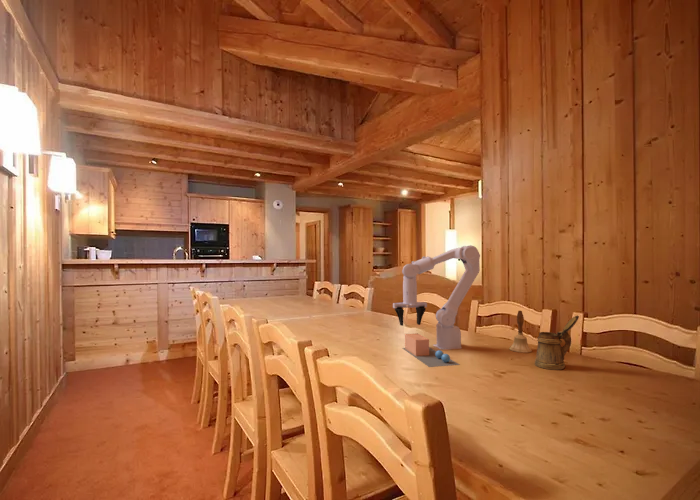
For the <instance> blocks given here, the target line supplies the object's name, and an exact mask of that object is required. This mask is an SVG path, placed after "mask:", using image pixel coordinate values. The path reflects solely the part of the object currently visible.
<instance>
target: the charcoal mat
mask: <svg viewBox="0 0 700 500" xmlns="http://www.w3.org/2000/svg"><path fill="white" fill-rule="evenodd" d="M402 350H404V351H406V353H408V354H410V355H411V356H413V357H414V358H415V359H416V360H419V361H420V362H421V363H422V364H424V365H425V366H426V367H428V368H435V367H437V368H438V367H448V366H450V367H451V366H460V365H461V364H460V363H458V362H456V361H454V360H453V359H451V358H450V361H449V362H447V363H446V362H443V361H442V359H438V358H437V357H436V355H435V353H436V351H437V350H435V349H434V348H432V347H430V346H429V355H426V356H415V355H413V354H412V353H410V352H409V351H408V350H406V349H405V347H403V348H402Z"/></svg>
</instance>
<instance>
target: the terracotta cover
mask: <svg viewBox="0 0 700 500" xmlns="http://www.w3.org/2000/svg"><path fill="white" fill-rule="evenodd" d="M404 346H405V347H404V348H405V349H406V350H408V351H409V352H410V353H412V354H413V355H415V356H426V355H429V347H430V339H429V338H427V337H425V336H423V335H421V334H419V333H405V334H404ZM410 353H409V354H410ZM413 355H412V356H413Z"/></svg>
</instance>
